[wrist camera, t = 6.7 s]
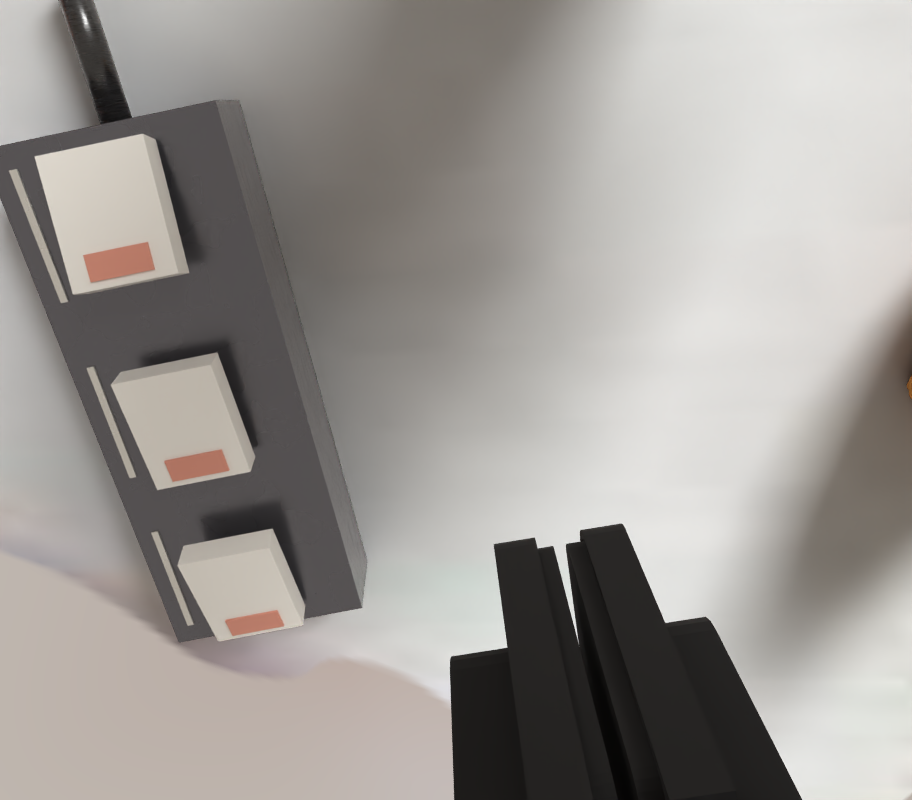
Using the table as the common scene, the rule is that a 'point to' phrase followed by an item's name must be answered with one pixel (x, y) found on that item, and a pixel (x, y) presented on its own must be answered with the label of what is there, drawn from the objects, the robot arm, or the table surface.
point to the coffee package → (910, 386)
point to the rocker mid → (185, 421)
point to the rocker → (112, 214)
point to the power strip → (197, 344)
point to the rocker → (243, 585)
